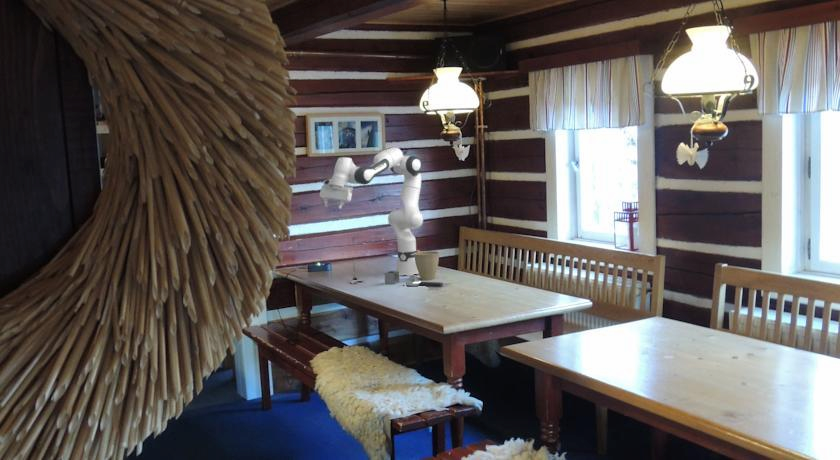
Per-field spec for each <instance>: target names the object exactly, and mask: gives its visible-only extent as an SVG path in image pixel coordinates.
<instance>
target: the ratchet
mask: <svg viewBox="0 0 840 460" xmlns="http://www.w3.org/2000/svg"><path fill="white" fill-rule="evenodd" d="M443 283H444V282H440V281H439V282H436V281H423V280H421V279H418V275H409V279H408V280H406V281H405V284H406V286H407V287H418V286H426V287H442V286H443Z"/></svg>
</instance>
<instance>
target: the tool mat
mask: <svg viewBox="0 0 840 460" xmlns="http://www.w3.org/2000/svg"><path fill="white" fill-rule="evenodd" d="M442 283H443V286H442V287H428V288H429V289H428V290H427V291H439V290H441V289H444V288H445V287H447V286H450V285H451V284H453V282H451V283H450V282H442Z"/></svg>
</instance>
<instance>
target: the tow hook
mask: <svg viewBox="0 0 840 460" xmlns="http://www.w3.org/2000/svg"><path fill="white" fill-rule="evenodd" d="M352 262H353V264H352V267H353V272H352V275H353V276H352V280H357V279H358V278H357V273H356V264H355V260H353V261H352Z"/></svg>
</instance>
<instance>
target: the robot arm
mask: <svg viewBox="0 0 840 460" xmlns="http://www.w3.org/2000/svg"><path fill="white" fill-rule="evenodd" d="M403 154H404V153H403V151H402V150H401V148H399V147H391V148H388V149H384V150H382V151H380V152H378V153H377V154H376V155H374V158H373V164H372V165H369V166H367V165H366V166H357V165H355V163H354V161H353V159H352V158H351V157H349V156H339V157H338V158H337V160H336V163H335V166H334V171H333V175H332V177H331V178H328V179H326V180H325V179H324V180H323V183H322V184H323V185H322V186H321V188H320V192H319V197H320V198H321V199H322V200H323V202H324V207H326V208H329V203H328V201H329V200H331V201H339V202H340V203H339V204H338V205H337V209H339V210H341V209H342V207H343V206H344V205H345V203H346V202H347V203H350V202H351V200H352V197H353V189H354V187H353V186H352V185H353V184H354V185H357V184H359V185H368V184H370V183H371V182H372V181H373V179H374V178H375V177H376V176H378V175H379V174H381V173H383V172H386V171H388V170H389V169H390V171H391V172H392V173H393V174H394V175H395V174H396V175H403V178H404V179H403V183H402V184H403V185H402V189H401V193H400V201H401V203H402V204H403V209H396V210H393V211H391V212H390V213H388V216H387V217H388V218H387V222H388V224H389V225H390V226H391V228H392V229H393V232H394V233H395V235H396V240H397V241H396V243H397V259H396V261H395V262H396V264H395V266H396V267H395V268H396V270H395V271H399V274H401V275H400V276H403V275H407V276H411V274H418V275H419V273H418V270H417V266H416V263H415V258H414V253H416V252H421V251H420V250H419V249H417V240H416V237H415V235H414V234H413V233H412V231H411V230H412V229H413V230H414V229H419V228H420V227H421V226H422V225H423V223H424V217H423V215H422V213H421V212H420V211H421V210H420V207H419V201H420V193H421V189H422V174H421V170H422V160H420V158H419V157H418V156H414V155H403ZM348 184H350V185H348ZM351 184H352V185H351Z"/></svg>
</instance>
